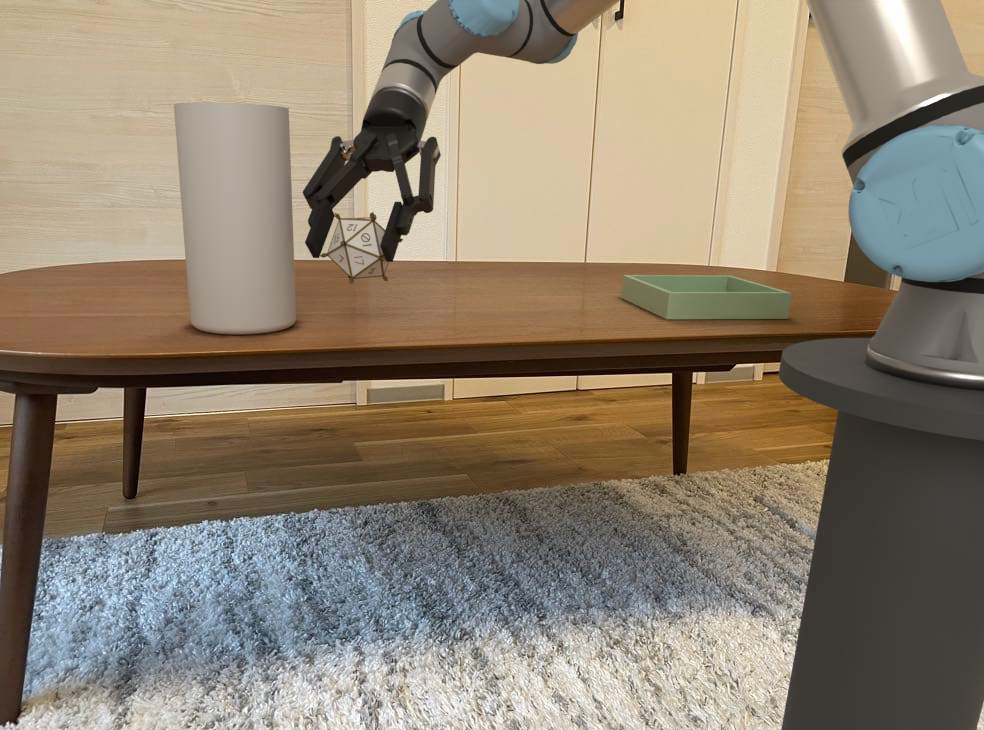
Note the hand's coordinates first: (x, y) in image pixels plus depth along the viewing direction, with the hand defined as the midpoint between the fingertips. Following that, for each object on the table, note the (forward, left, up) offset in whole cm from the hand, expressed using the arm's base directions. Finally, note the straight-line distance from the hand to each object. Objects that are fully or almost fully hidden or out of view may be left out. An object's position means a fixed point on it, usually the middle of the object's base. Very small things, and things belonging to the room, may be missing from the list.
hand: (348, 252), depth 88 cm
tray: (+18, -51, -10) cm, 55 cm away
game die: (+3, -2, -4) cm, 5 cm away
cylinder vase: (+6, +13, -10) cm, 17 cm away
